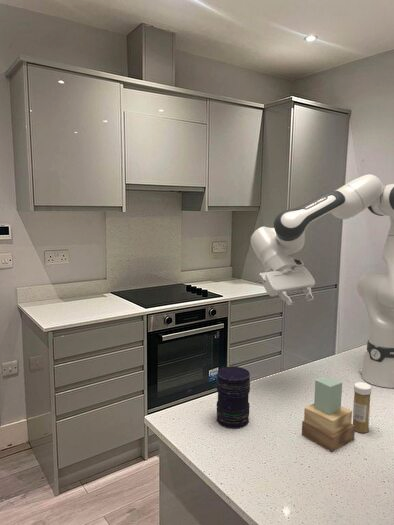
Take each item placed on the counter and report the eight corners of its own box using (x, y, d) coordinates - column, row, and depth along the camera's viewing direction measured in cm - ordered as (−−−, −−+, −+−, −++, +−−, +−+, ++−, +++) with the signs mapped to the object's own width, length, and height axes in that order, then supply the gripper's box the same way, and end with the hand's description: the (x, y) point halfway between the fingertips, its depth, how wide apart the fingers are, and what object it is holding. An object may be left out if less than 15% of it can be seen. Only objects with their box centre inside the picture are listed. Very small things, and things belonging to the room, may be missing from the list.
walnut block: (323, 425, 120) (324, 410, 119) (354, 440, 112) (355, 425, 111) (301, 436, 114) (302, 421, 113) (331, 453, 106) (332, 437, 105)
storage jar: (253, 416, 124) (254, 369, 122) (243, 432, 115) (244, 382, 113) (223, 409, 128) (223, 364, 126) (211, 424, 120) (211, 376, 118)
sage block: (325, 402, 116) (327, 376, 115) (340, 410, 112) (342, 382, 111) (313, 407, 113) (315, 380, 112) (328, 415, 109) (330, 386, 108)
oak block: (323, 411, 119) (324, 398, 118) (351, 424, 112) (352, 410, 111) (304, 421, 113) (304, 407, 113) (332, 435, 106) (332, 421, 106)
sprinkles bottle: (372, 430, 116) (374, 386, 115) (362, 435, 114) (365, 390, 112) (358, 423, 120) (360, 380, 118) (348, 427, 118) (350, 384, 116)
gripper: (262, 264, 129) (284, 300, 122) (305, 260, 140) (327, 292, 134) (252, 276, 133) (273, 312, 126) (294, 271, 144) (315, 303, 138)
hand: (301, 302), depth 130 cm, fingers open, 8 cm apart
